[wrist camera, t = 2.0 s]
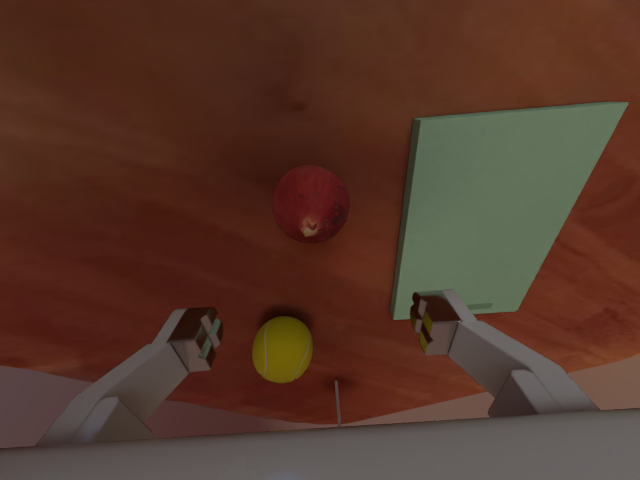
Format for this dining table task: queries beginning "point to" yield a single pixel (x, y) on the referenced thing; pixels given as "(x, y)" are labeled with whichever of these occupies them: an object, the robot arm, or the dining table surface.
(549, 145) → the cutting board
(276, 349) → the tennis ball
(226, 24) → the dining table surface
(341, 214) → the onion
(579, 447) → the robot arm
